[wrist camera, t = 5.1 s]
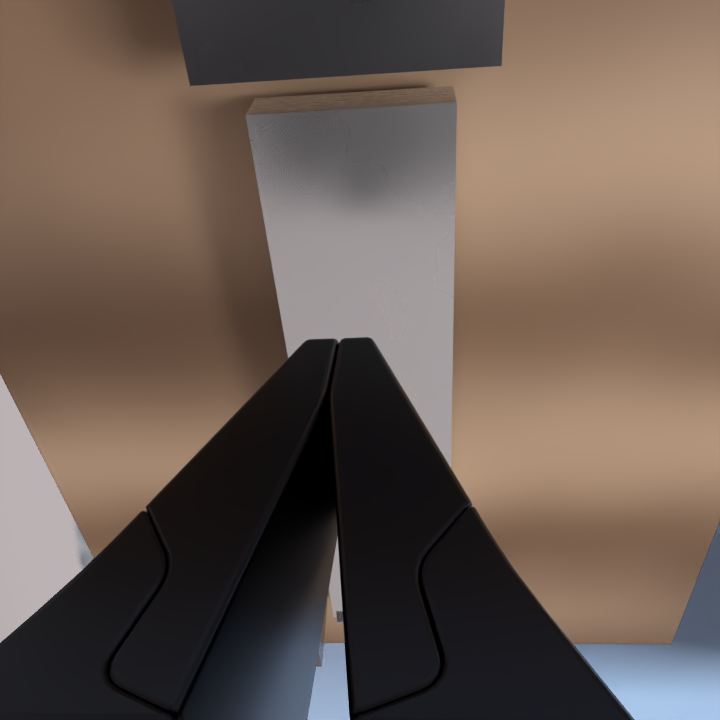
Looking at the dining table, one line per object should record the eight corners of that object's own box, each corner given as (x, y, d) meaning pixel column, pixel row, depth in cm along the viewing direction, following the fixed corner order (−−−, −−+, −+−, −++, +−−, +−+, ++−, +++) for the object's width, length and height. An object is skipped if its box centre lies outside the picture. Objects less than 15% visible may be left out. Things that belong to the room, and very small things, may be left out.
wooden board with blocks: (641, 557, 22) (671, 644, 19) (163, 559, 23) (136, 641, 21) (959, -515, 8) (1181, -661, 6) (-214, -367, 10) (-413, -438, 7)
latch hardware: (495, 604, 18) (503, 667, 17) (292, 604, 19) (284, 666, 18) (557, -102, 9) (588, -95, 7) (136, -67, 9) (88, -54, 8)
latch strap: (446, 599, 18) (449, 630, 17) (337, 599, 18) (335, 630, 18) (452, 86, 10) (457, 104, 9) (255, 98, 10) (244, 117, 9)
